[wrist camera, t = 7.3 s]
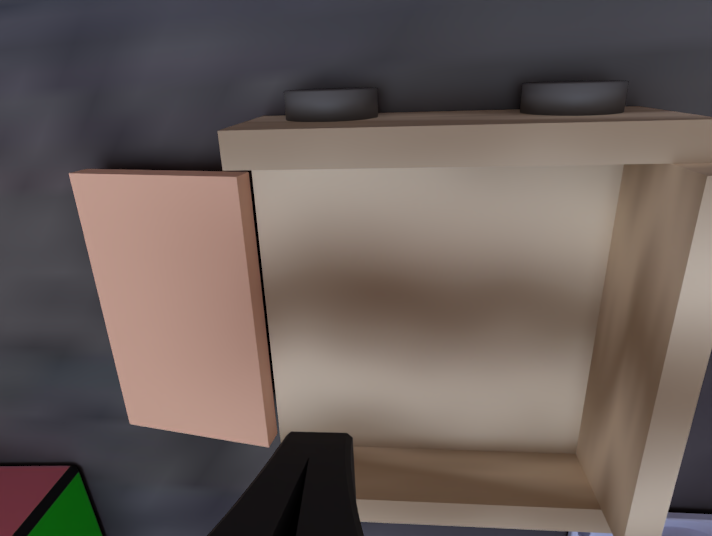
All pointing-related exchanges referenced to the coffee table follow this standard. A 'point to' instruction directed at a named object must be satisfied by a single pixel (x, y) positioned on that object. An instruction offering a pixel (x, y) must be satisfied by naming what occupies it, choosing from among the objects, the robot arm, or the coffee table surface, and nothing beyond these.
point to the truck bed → (489, 299)
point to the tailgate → (181, 298)
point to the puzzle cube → (45, 502)
